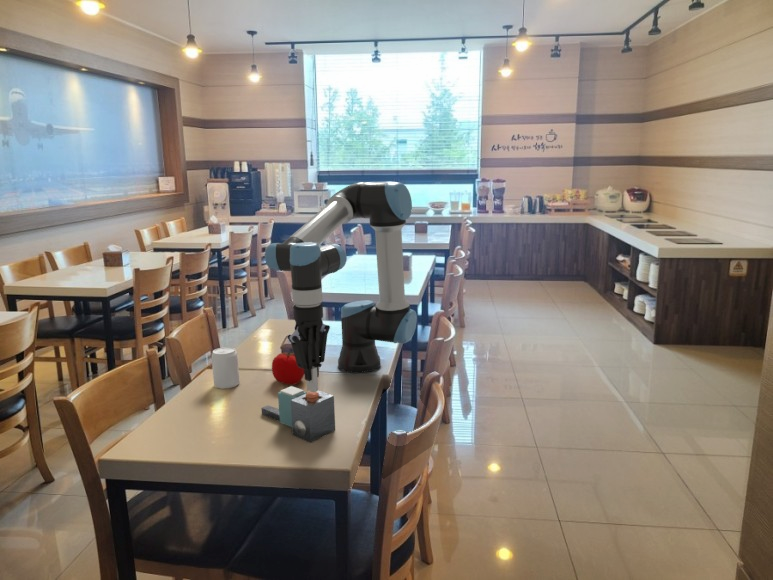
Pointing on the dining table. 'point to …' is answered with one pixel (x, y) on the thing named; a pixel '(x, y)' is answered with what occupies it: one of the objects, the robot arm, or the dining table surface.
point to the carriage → (287, 403)
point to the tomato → (286, 369)
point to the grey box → (313, 417)
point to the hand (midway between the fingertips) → (312, 390)
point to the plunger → (312, 396)
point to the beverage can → (225, 367)
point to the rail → (271, 412)
